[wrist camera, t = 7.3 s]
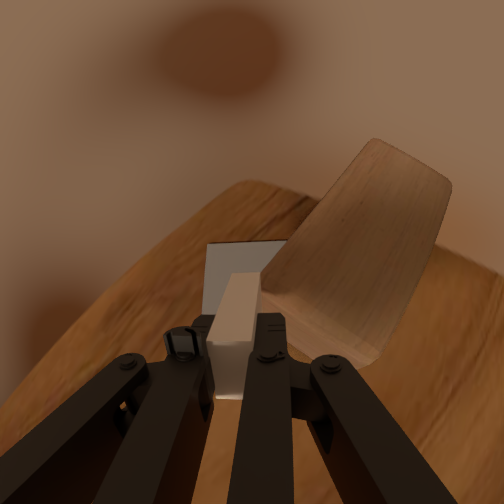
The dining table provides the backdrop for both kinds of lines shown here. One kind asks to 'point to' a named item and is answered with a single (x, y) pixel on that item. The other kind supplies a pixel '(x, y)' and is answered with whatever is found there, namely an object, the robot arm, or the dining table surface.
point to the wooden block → (358, 256)
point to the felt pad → (232, 267)
